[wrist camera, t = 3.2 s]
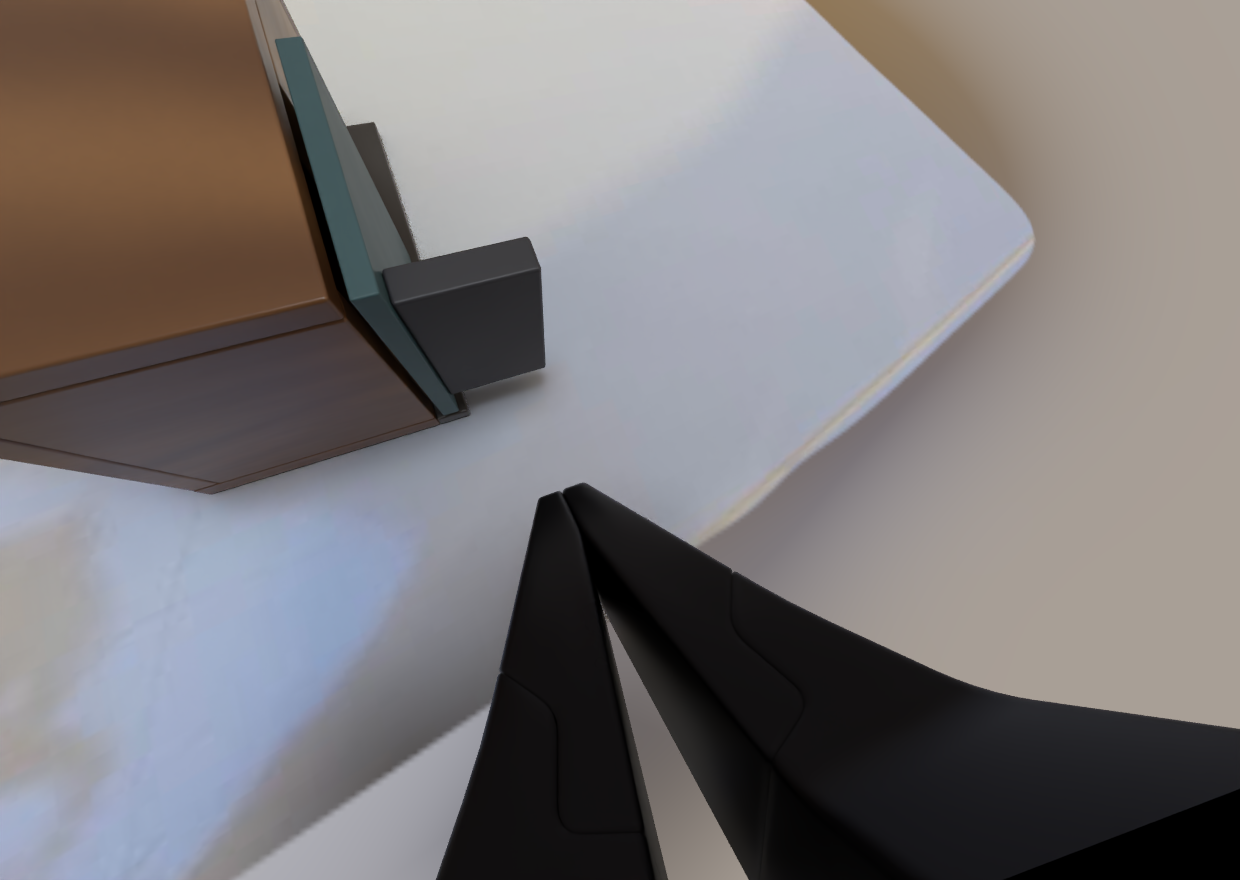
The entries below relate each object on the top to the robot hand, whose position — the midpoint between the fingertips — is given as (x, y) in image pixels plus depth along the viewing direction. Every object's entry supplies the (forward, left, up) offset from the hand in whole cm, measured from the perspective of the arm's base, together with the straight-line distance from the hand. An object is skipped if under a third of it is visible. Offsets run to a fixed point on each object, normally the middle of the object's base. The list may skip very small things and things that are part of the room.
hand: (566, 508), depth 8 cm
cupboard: (+9, +11, -9) cm, 17 cm away
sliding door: (+8, +4, -9) cm, 13 cm away
